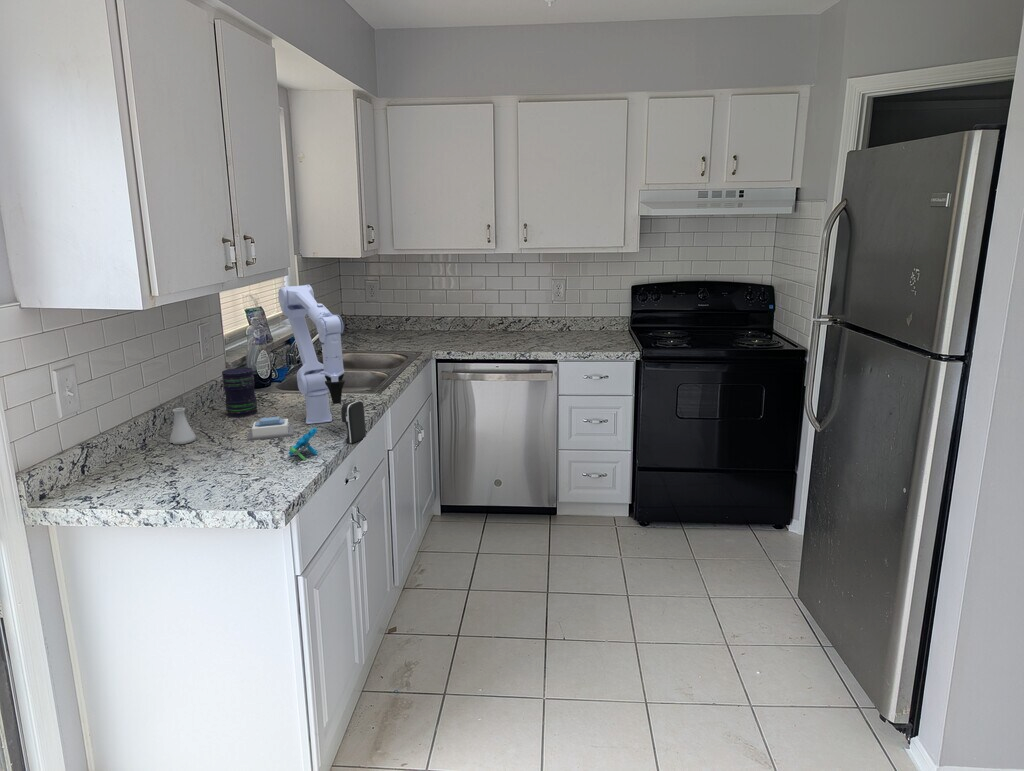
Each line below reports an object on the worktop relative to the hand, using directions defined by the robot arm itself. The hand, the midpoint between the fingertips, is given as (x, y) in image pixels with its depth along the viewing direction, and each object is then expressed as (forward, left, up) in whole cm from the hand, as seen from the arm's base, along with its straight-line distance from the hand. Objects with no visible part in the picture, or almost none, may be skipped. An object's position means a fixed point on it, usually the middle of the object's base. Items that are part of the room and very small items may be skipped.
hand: (336, 400), depth 212 cm
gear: (+21, -10, -10) cm, 25 cm away
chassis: (-4, -20, -9) cm, 22 cm away
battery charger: (+12, +4, -10) cm, 16 cm away
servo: (-4, -20, -9) cm, 22 cm away
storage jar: (-32, -31, -10) cm, 46 cm away
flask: (-5, -45, -10) cm, 46 cm away
